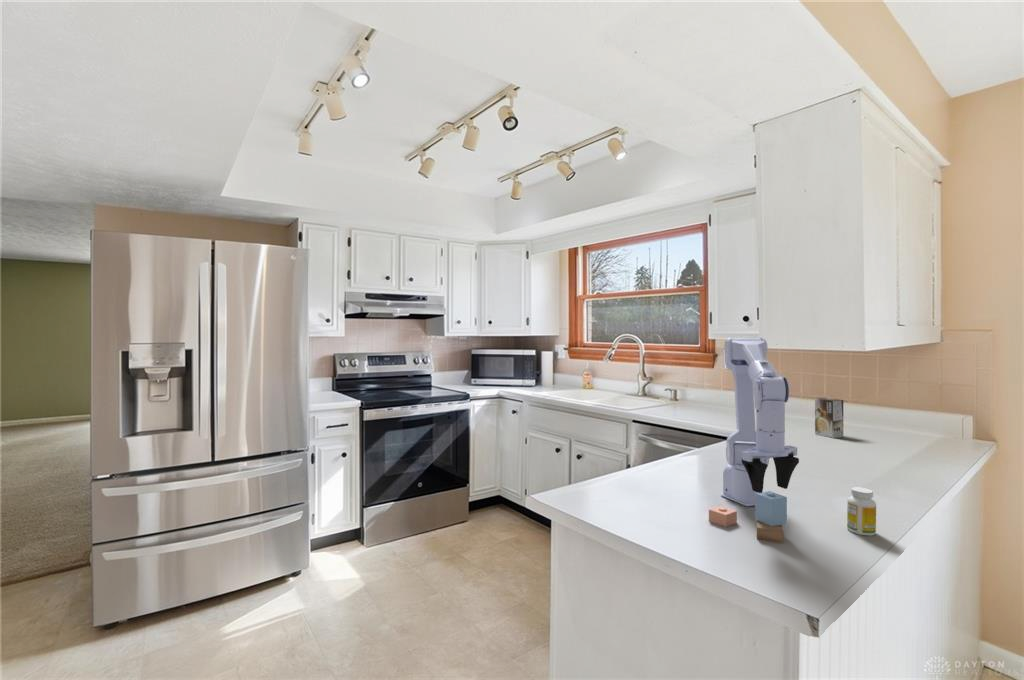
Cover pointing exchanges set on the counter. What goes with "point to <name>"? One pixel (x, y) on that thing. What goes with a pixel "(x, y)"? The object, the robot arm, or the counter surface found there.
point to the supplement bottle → (861, 512)
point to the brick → (722, 516)
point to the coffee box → (829, 417)
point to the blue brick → (771, 508)
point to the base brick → (769, 532)
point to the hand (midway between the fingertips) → (770, 489)
